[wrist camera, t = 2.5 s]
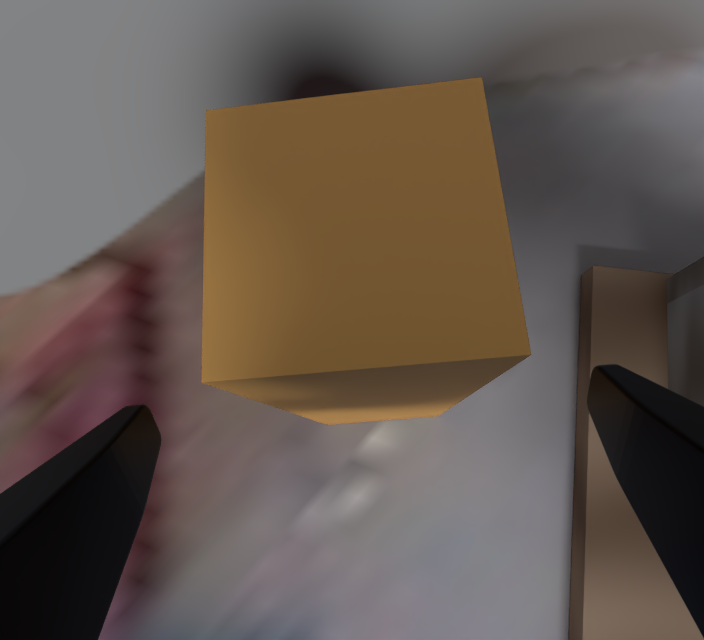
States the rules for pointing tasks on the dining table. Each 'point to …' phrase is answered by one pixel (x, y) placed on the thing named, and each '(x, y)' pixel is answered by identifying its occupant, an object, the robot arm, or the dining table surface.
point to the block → (358, 254)
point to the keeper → (592, 462)
